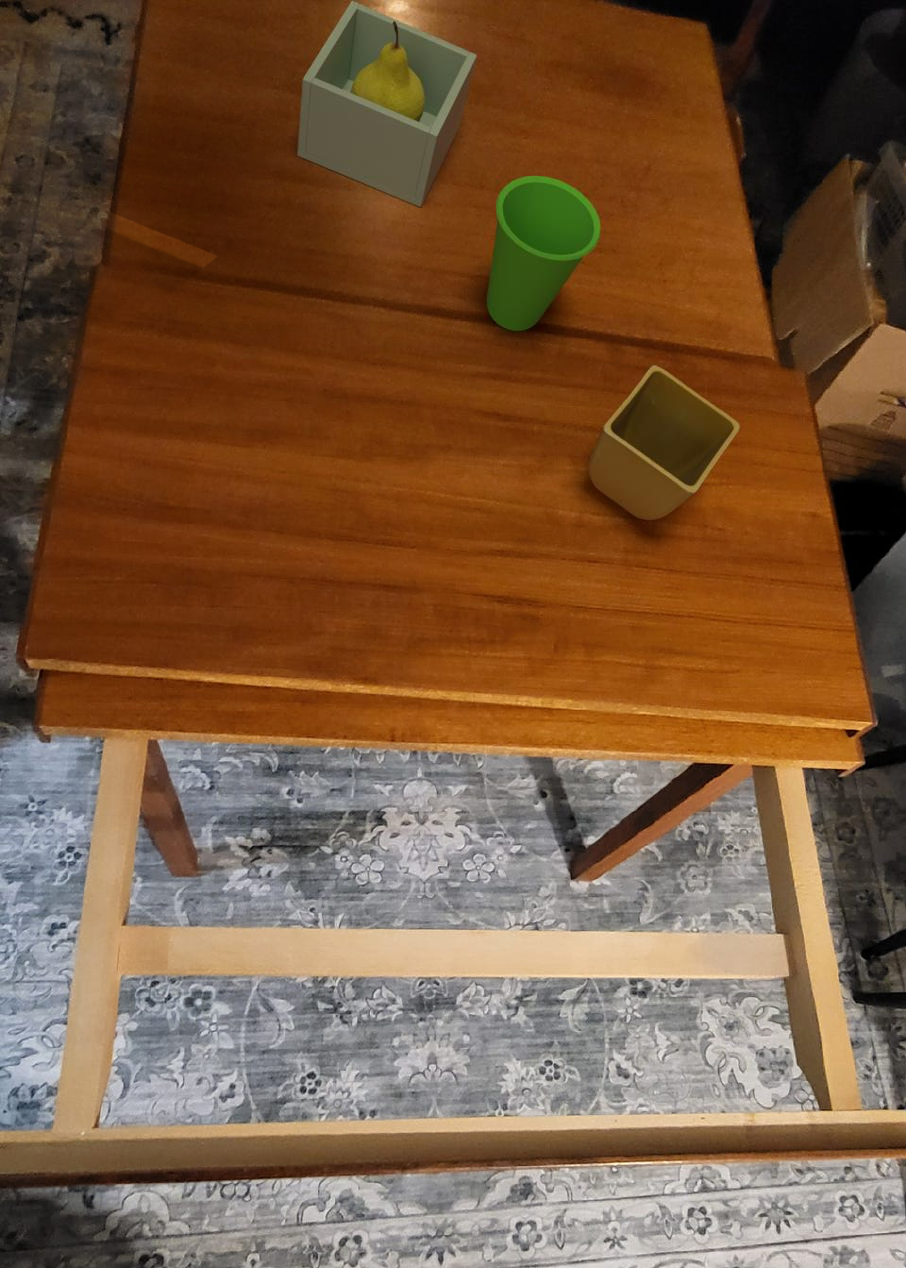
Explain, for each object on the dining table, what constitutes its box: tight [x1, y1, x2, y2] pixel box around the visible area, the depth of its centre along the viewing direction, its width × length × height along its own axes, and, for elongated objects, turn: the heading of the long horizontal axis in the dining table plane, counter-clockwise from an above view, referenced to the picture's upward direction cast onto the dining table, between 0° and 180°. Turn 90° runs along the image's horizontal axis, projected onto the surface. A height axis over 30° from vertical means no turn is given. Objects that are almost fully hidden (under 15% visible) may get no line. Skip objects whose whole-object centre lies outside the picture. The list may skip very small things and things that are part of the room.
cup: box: [486, 175, 602, 332], centre depth 79 cm, size 9×9×11 cm
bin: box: [296, 0, 478, 208], centre depth 85 cm, size 13×13×8 cm
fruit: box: [350, 21, 425, 122], centre depth 82 cm, size 7×7×12 cm
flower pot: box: [588, 364, 741, 521], centre depth 74 cm, size 9×9×9 cm
